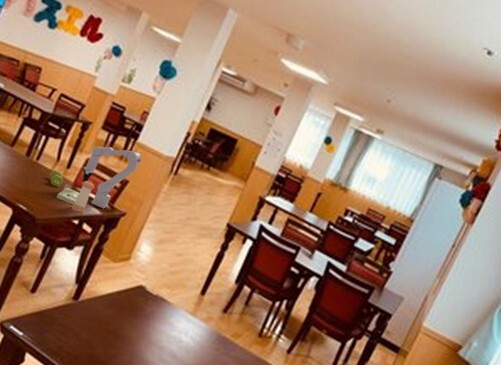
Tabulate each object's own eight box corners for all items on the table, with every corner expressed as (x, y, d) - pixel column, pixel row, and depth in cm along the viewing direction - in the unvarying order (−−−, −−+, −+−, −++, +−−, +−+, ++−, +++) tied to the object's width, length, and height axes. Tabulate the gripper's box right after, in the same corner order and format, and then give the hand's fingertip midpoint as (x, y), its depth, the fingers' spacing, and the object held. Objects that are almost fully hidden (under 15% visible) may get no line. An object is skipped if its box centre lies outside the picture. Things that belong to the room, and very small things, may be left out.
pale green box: (85, 199, 341) (92, 186, 341) (78, 206, 318) (84, 192, 317) (65, 191, 339) (71, 177, 338) (56, 197, 316) (62, 182, 315)
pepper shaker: (70, 209, 307) (83, 180, 305) (71, 206, 313) (84, 177, 312) (82, 213, 309) (95, 184, 307) (83, 210, 316) (96, 182, 314)
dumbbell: (60, 188, 340) (64, 178, 339) (48, 184, 336) (52, 174, 336) (59, 182, 354) (63, 172, 354) (47, 178, 351) (52, 168, 350)
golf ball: (71, 202, 324) (75, 199, 327) (74, 199, 321) (78, 196, 325) (66, 198, 323) (70, 195, 326) (69, 194, 321) (73, 191, 324)
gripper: (88, 160, 349) (80, 178, 350) (84, 162, 335) (76, 181, 336) (98, 164, 350) (90, 182, 351) (94, 166, 336) (86, 185, 337)
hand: (84, 182), depth 344 cm, fingers closed
